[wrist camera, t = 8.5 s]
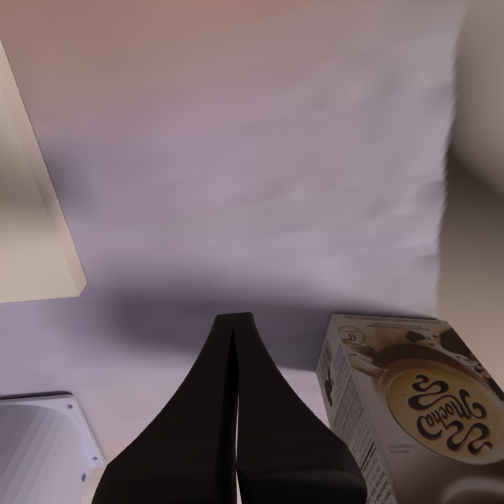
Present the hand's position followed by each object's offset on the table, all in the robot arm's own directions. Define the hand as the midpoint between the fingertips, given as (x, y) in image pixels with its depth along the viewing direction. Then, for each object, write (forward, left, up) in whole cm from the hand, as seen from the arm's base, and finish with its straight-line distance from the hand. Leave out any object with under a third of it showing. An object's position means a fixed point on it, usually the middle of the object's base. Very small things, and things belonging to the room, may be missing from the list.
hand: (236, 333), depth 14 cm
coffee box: (-11, -10, -10) cm, 18 cm away
